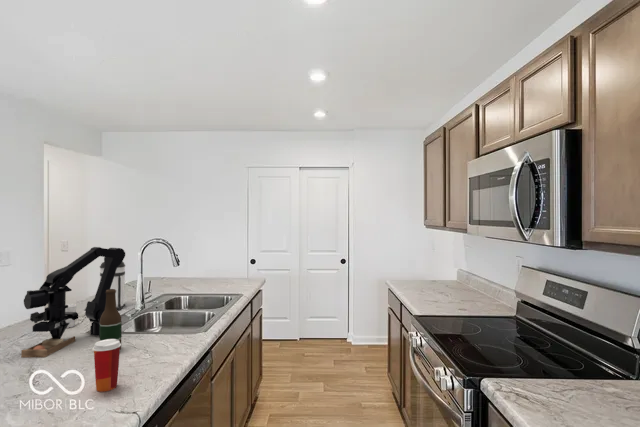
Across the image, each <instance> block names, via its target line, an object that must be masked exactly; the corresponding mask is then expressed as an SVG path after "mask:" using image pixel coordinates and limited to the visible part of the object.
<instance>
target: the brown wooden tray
mask: <svg viewBox="0 0 640 427" xmlns="http://www.w3.org/2000/svg"><path fill="white" fill-rule="evenodd" d="M49 339H53V338H52V337H50V338H49ZM75 342H76V336H72V337H70V338H68V339H66V340H63V342H62V343H60V344H58V345H56V346H54V347H52V348H50V349H34V347H36V346H38V345H42V342H39V343H37V344H35V345H34V346H33V345H32V346H30V347H29V348H27V349H22V350H21V351H20V352H21V354H20V356H21V358H47V357H49V356H50V355H53V354H54V353H56V352H58V351H59V350H62V349H63V348H65V347H68V346H70V345H71V344H73V343H75Z"/></svg>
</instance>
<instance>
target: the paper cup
mask: <svg viewBox="0 0 640 427" xmlns="http://www.w3.org/2000/svg"><path fill="white" fill-rule="evenodd" d="M120 346H121V347H122V342H121V343H120V341H119V340H117V339H106V340H102V341H96V342H95V343H94V345H93V347H92V349H91V350H92V351H93V357H94V359H93V360H94V362H93V363H94V373H95V374H94V377H95V390H96V391H97V392H98V393H99V392H100V393H105V392H109V391H110V392H111V391H112V390H114V389H116V388H117V386H118V378H119V366H120Z"/></svg>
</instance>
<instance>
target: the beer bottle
mask: <svg viewBox="0 0 640 427" xmlns="http://www.w3.org/2000/svg"><path fill="white" fill-rule="evenodd" d="M105 293H106V305H105V311H104V312H103V313H102V315H101V318H100V333H99V336H98V337H99V338H98V339H99V341H102V340H106V339H117V340H119V341H120V343H121V344H122V324H123V323H122V322H123V321H122V315H121V314H120V312H119V311H118V309H117V308H116V296H115V293H116V290H115V289H108V290H106V292H105ZM120 350H122V345H121V346H120Z"/></svg>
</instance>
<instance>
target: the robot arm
mask: <svg viewBox="0 0 640 427" xmlns="http://www.w3.org/2000/svg"><path fill="white" fill-rule="evenodd" d="M99 257H102V258H103V262H104V263H105V268H104V271H103V274H102V277H101V280H99V284H98V287H97V290H96V292H95V296H94V298H93V299H92V300H91V301H90V300H89V301H87V302H86V306H85V308H84V311H85V313H84V314H85V316H86V318H88V320H89V322H90V323H91V325H90V327H89V328H90V332H89V334H90V335H91V336H94V337H95V336H96V337H99V333H100V318H101V315H102V313H103V312H104V311H105V305H106V293H105V292H106V290H108V289H110V288H111V285H112V282H113V279H114V275H115V272H116V269H117V267H118V266H119V265H120V264H121V263H122V261H123V262H124V259H125V257H126V251H125V250H124V249H123V248H121V247H109V248H104V247H101V246H93V247H91V248H90V249H88V250H87V251H86V252H85V253H84V254H82V255H81V256H79V257H78V258H76V259H75V260H73V261H72V262H70V263H69V264H68V265H66V266H64V267H61V268H59V269H56V270H53V271H52V272H50V273H48V274H47V276H46V278H45V281H44V282H43V284H41V286H40V288H38V289H37V290H36V289H35V290H27V291H26V294H25V295H24V298H23V305H24V308H25V309H26V310H31V309H36V308H42V307H45V306H47V307H45V308H44V311H42V312H38V311H35V312H32V313H30V316H29V317H30V319H29V321H31V322H32V323H34V324H33V326H32V332H34V333H37V332H39V333H40V332H41V333H47V332H49V333H50V336H51V338H53V339H62V336H63V335H64V333H65V331H66V329H68V328H67V326H68V325H69V323H66V321H65V320H67V319H72V320H75V321H76V320H78V319H79V313H78V312H77V311H76V312H65V308H68V305H66V304H67V303H66V298H67V297H66V294H67V293H68V292H71V291H72V289H71V288H70V287H69V286H68V284H69V283H70V281H71V280H73V278H74V276H75V275H76V274H77V273H78V272H80V271H81V270H83V269H84V268H85V267H87V266H88V265H90V264H91V263H92V262H94V261H95V260H97V259H98V258H99Z"/></svg>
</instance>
